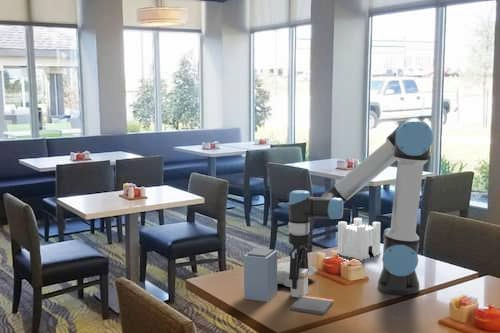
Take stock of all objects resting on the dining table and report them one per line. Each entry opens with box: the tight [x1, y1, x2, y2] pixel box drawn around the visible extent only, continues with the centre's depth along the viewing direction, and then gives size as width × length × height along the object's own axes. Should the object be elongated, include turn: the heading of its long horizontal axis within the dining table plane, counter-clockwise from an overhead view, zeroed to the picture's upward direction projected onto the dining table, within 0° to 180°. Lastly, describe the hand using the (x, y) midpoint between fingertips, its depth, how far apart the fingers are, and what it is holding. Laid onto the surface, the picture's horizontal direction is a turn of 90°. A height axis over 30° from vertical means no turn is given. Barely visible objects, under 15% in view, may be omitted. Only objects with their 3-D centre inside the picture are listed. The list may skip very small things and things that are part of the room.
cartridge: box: [298, 268, 309, 297], centre depth 214 cm, size 5×5×9 cm
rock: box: [277, 261, 318, 288], centre depth 227 cm, size 19×7×25 cm
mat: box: [289, 295, 335, 315], centre depth 202 cm, size 12×12×1 cm
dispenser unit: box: [243, 247, 278, 303], centre depth 212 cm, size 10×10×17 cm
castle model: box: [337, 217, 382, 261], centre depth 263 cm, size 14×14×15 cm
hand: (298, 292), depth 214 cm, fingers open, 8 cm apart
